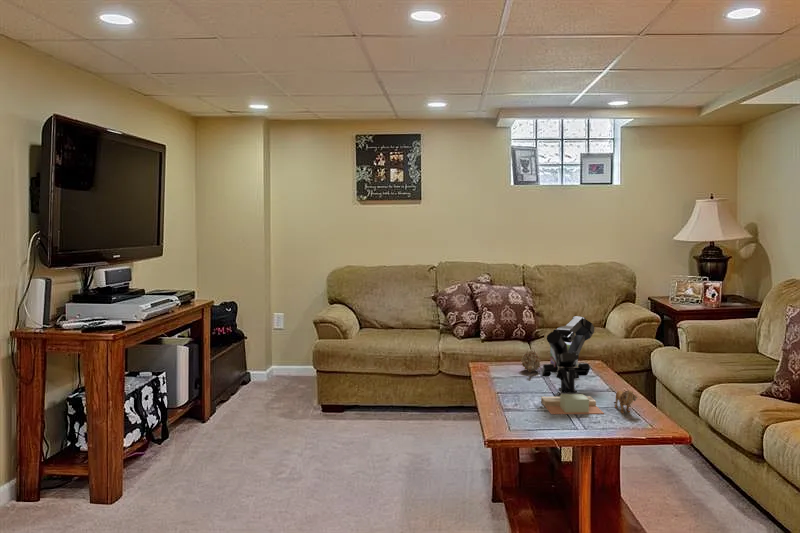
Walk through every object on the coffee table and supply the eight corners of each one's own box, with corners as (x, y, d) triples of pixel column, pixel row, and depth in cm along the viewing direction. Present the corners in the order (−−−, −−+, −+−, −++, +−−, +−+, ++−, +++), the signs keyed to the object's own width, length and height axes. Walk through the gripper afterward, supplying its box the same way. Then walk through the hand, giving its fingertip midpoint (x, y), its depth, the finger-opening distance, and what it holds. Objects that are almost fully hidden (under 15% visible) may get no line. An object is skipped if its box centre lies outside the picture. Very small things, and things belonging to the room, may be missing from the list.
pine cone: (519, 367, 308) (520, 348, 308) (539, 368, 307) (539, 348, 306) (522, 378, 286) (522, 357, 286) (543, 378, 285) (543, 357, 284)
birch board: (541, 401, 248) (541, 396, 248) (590, 401, 248) (590, 396, 247) (545, 406, 241) (545, 401, 241) (595, 406, 241) (595, 401, 240)
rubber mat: (545, 406, 240) (545, 406, 240) (596, 406, 240) (596, 405, 240) (551, 414, 231) (551, 413, 231) (604, 413, 231) (604, 413, 231)
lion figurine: (638, 415, 229) (639, 391, 228) (625, 415, 228) (625, 392, 228) (619, 404, 243) (620, 381, 243) (607, 404, 243) (607, 382, 242)
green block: (560, 394, 239) (565, 399, 232) (583, 394, 239) (588, 399, 232) (560, 406, 239) (565, 412, 232) (583, 406, 239) (588, 412, 232)
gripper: (543, 344, 247) (550, 378, 237) (588, 343, 247) (597, 377, 237) (538, 359, 256) (545, 392, 246) (582, 358, 256) (591, 391, 246)
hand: (569, 388), depth 243 cm, fingers closed
